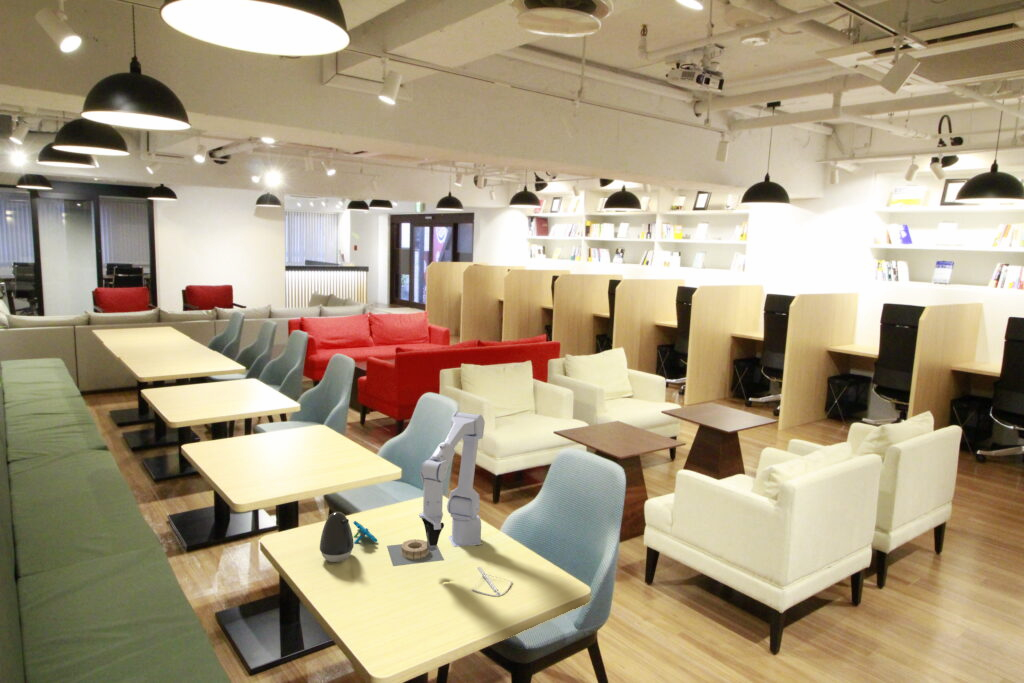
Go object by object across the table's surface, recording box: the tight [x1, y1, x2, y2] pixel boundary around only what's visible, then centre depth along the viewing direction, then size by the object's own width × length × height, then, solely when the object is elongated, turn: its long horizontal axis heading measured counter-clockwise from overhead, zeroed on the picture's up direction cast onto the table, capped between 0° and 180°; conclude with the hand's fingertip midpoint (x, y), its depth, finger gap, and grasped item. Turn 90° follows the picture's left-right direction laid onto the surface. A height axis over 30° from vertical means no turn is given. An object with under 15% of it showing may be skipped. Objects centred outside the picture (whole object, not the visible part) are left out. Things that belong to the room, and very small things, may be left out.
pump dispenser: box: [319, 511, 355, 563], centre depth 202 cm, size 10×10×15 cm
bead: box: [401, 539, 429, 559], centre depth 208 cm, size 8×8×2 cm
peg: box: [426, 532, 438, 551], centre depth 196 cm, size 3×3×6 cm
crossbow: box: [471, 566, 513, 597], centre depth 193 cm, size 16×13×2 cm
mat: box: [386, 543, 445, 567], centre depth 208 cm, size 16×14×1 cm
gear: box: [352, 520, 378, 544], centre depth 215 cm, size 11×6×10 cm
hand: (432, 542), depth 196 cm, fingers closed on peg, 3 cm apart
